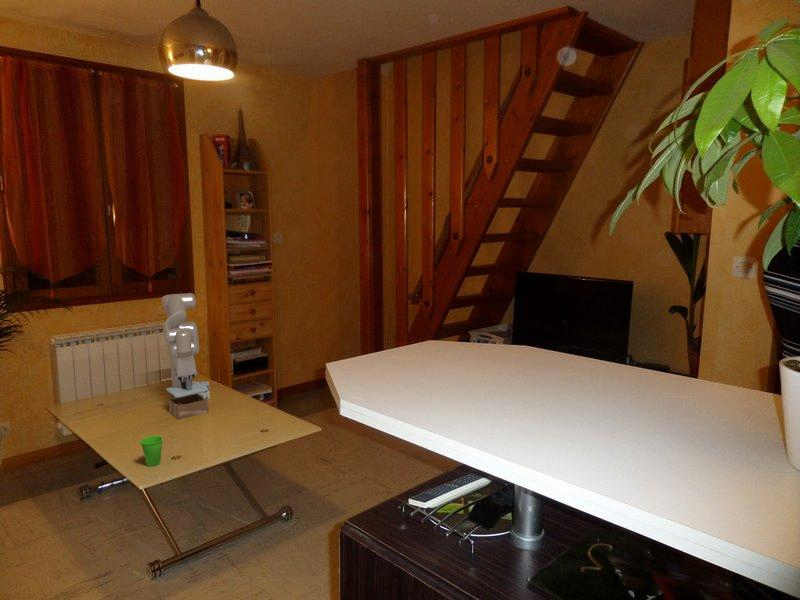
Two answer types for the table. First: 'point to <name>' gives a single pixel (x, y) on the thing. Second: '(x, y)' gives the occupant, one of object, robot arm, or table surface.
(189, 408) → the crate
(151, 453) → the cup
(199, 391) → the lid
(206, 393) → the light bulb box
